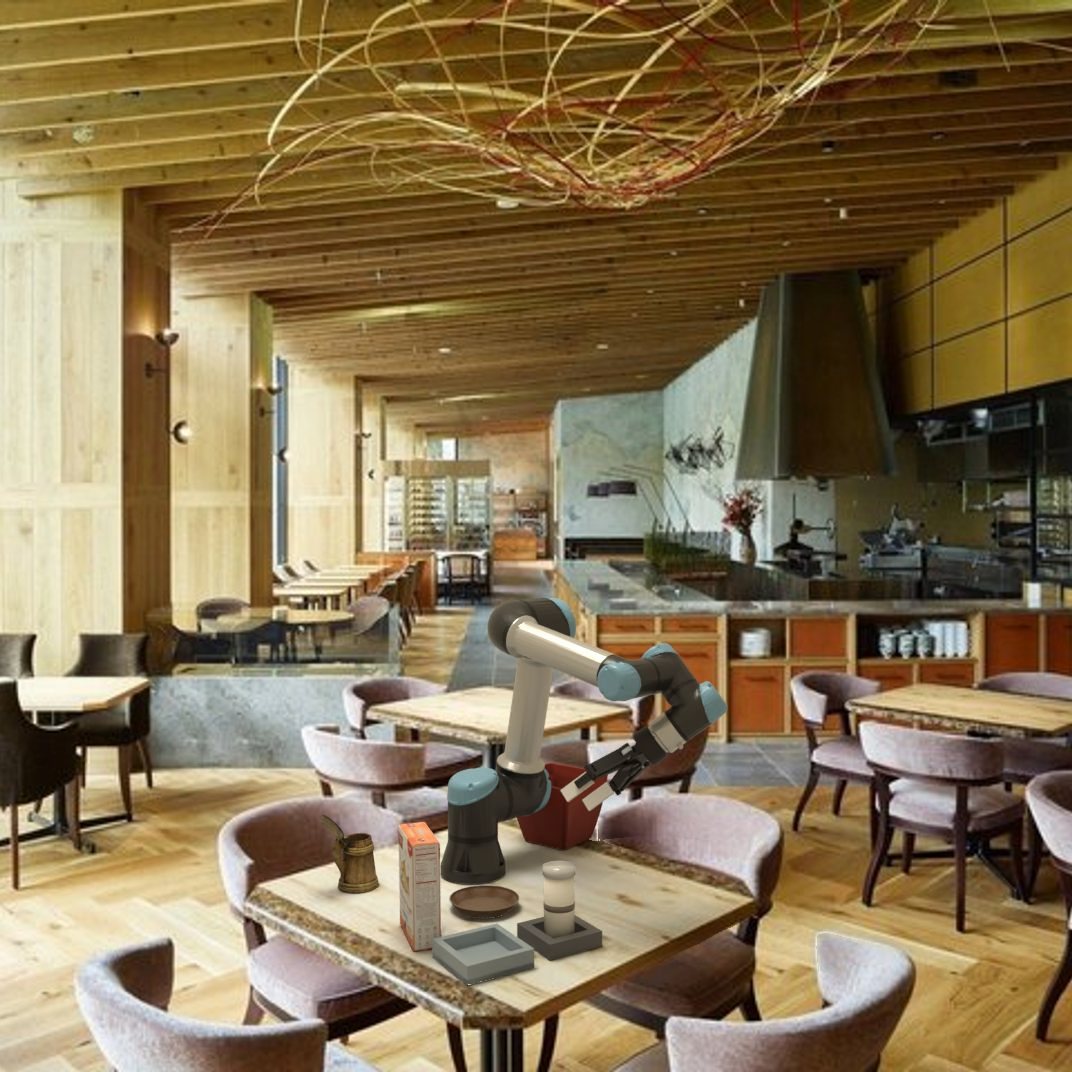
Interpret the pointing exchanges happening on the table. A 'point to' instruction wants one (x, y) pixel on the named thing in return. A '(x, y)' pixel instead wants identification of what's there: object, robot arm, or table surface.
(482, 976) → the tray
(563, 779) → the plant pot
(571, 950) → the dark grey square frame
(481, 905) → the saucer
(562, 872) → the cylinder
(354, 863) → the wooden mug
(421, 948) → the cracker box
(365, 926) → the table surface
